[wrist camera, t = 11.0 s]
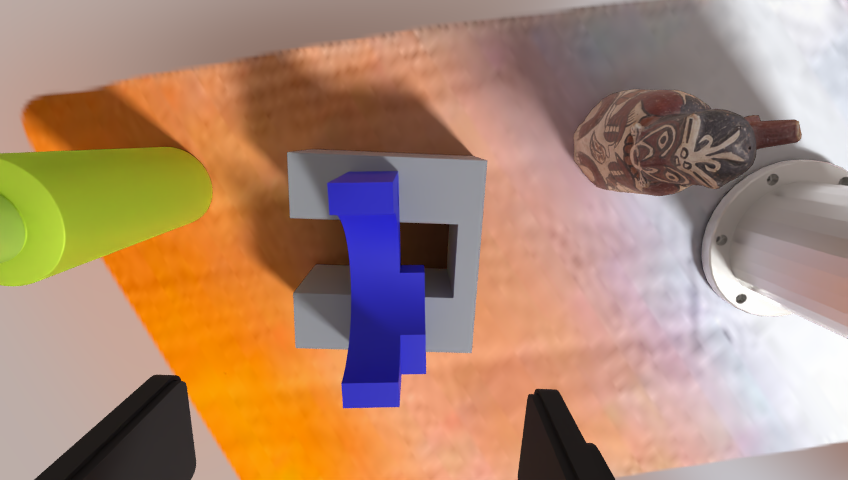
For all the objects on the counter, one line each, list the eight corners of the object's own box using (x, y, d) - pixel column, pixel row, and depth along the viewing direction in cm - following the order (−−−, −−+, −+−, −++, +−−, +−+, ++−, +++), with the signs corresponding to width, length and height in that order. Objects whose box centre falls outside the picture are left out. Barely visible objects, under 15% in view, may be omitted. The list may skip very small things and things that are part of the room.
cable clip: (424, 348, 27) (427, 406, 21) (358, 349, 27) (343, 408, 21) (423, 170, 24) (425, 181, 18) (348, 171, 24) (327, 183, 18)
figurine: (570, 99, 29) (675, 74, 17) (668, 84, 29) (839, 48, 17) (575, 195, 31) (673, 231, 19) (667, 181, 30) (822, 209, 19)
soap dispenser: (105, 179, 30) (-480, 260, 10) (179, 131, 29) (-304, 121, 9) (157, 244, 31) (-275, 424, 12) (228, 200, 30) (-107, 314, 11)
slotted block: (473, 155, 30) (487, 160, 24) (461, 314, 33) (471, 352, 27) (312, 149, 29) (287, 152, 24) (317, 310, 33) (295, 347, 27)
